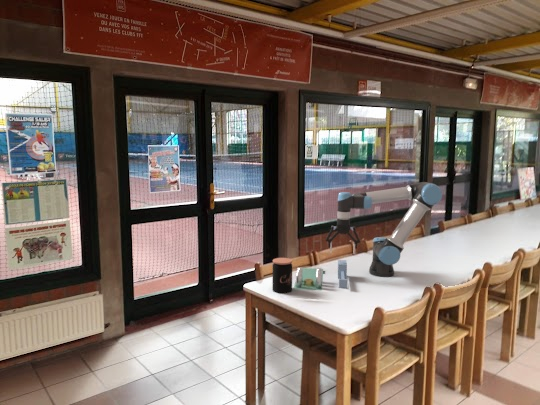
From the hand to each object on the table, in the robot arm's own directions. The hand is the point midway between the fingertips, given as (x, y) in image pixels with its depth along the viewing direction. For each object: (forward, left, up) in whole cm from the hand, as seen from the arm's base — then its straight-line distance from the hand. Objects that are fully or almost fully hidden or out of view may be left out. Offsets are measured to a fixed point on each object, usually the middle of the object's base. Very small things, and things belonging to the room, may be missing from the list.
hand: (342, 253), depth 248 cm
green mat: (+19, +5, -16) cm, 25 cm away
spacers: (+19, +16, -15) cm, 29 cm away
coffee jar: (+33, +28, -16) cm, 46 cm away
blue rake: (0, +6, -16) cm, 17 cm away
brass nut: (+19, +17, -15) cm, 30 cm away
